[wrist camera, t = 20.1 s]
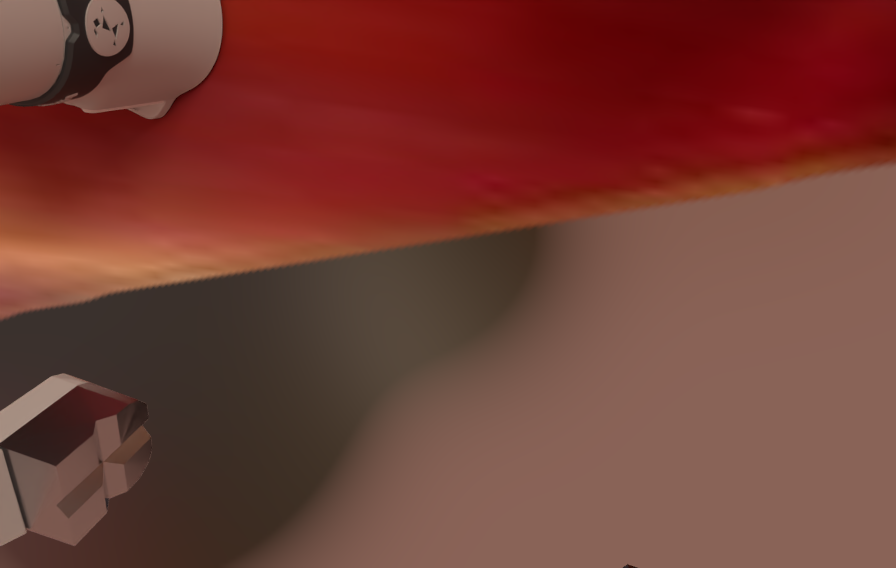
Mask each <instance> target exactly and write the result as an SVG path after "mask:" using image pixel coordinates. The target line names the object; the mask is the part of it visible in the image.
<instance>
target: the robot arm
mask: <svg viewBox="0 0 896 568" xmlns="http://www.w3.org/2000/svg"><path fill="white" fill-rule="evenodd" d="M221 39H222V11H221V4H220V0H0V106H1V105H6V104H10V105H15V106H23V107H25V106H47V105H54V104H60V103H65V104H68V105H74V106H76V107H79V108H81V109H82V110H83V111H84V112H86V113H99V112H106V111H113V110H120V109H128V110H130V111H132V112H134V113H136V114H138V115H140V116H142V117H144V118H147V119H157V118H161V117H163V116H164V115H165V114H166V113H167V111H168V110H169V108H170V107H171V105H172V103H173V102H174V100H175V99H176V98H177V97H178V96H179V95H181V94H183V93H185V92H187V91H189V90H191V89H193V88H194V87H196V86H197V85H198V84H200V83H201V82H202V81H203V80H204V79H205V78H206V76H207V75H208V74H209V72H210V71H211V69H212V67H213V66H214V64H215V61H216V59H217V56H218V53H219V50H220V45H221ZM148 419H149V415H148V409H147V404H146V403H144V402H141V401H138V400H136V399H133V398H131V397H128V396H125V395H122V394H120V393H117V392H114V391H112V390H109V389H106V388H104V387H100V386H98V385H95V384H93V383H90V382H87V381H84V380H81V379H79V378H76V377H73V376H70V375H67V374H64V373H63V374H59V375H55V376H51V377H50V378H48V379H47V380H45V381H44V382H43V383H41V384H40V385H38V386H37V387H35V388H34V389H33V390H31V391H29V392H28V393H27V394H25V395H24V396H22V397H21V398H19V399H18V400H16V401H15V402H13V403H12V404H10V405H9V406H8V407H6V408H5V409H3V410H2V411H0V546H2V545H4V544H6V543H7V542H9V541H11V540H13V539H15V538H17V537H19V536H21V535H23V534H25V533H26V532H27V531H26V530H29V531H33V532H35V533H38V534H41V535H44V536H47V537H50V538H53V539H56V540H59V541H61V542H65V543H67V544H70V545H73V546H75V545H76V544H77V543H78V542H79V541H80V540H81V539H82V538H83V537H84V536H85V535H86V534H87V533H88V532H89V531H90V530H91V529H92V527H94V525H95V524H96V523H97V522H98V521H99V520H100V519H101V518H102V517H103V516H104V515H105V514H106V513H107V510H108V503H109V499H110V498H112V497H114V496H117V495H119V494H122V493H124V492H126V491H128V490H129V489H130V488H131V487H132V486H133V485H134V484H135V483H136V481H137V480H138V479H139V478H140V477H141V475H142V473H143V471H144V470H145V468H146V466H147V464H148V462H149V460H150V456H151V451H152V441H151V437H150V435H149V434H148V433H147V431H146V430H145V428H144V427H143V426H142V425H143V424H144V423H145V421H147V420H148ZM623 568H637V567H634V566H631V565H628V564H627V565H626V566H624V567H623Z"/></svg>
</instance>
